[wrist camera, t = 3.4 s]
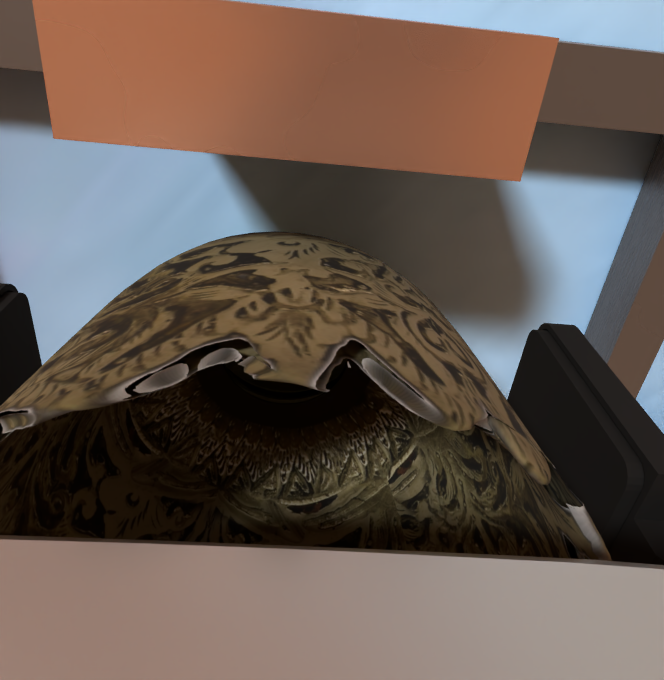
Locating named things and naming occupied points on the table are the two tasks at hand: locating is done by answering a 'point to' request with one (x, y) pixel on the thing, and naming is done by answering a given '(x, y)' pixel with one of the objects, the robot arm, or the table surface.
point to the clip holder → (354, 106)
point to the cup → (280, 417)
